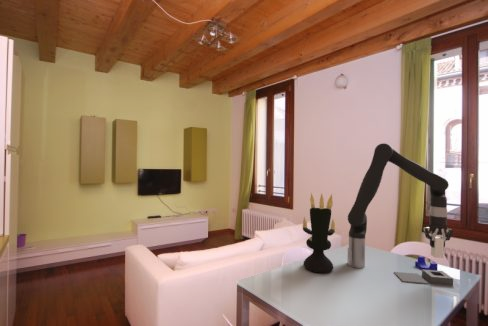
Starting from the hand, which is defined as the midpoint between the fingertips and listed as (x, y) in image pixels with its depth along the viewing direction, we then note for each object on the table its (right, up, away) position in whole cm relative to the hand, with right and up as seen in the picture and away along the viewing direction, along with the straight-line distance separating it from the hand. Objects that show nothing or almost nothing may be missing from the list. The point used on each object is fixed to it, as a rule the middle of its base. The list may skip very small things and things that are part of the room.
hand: (437, 247), depth 142 cm
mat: (-13, -17, +2) cm, 22 cm away
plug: (0, -5, 0) cm, 5 cm away
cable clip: (+3, -18, +14) cm, 23 cm away
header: (0, -17, 0) cm, 17 cm away
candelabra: (-59, -17, +12) cm, 63 cm away
